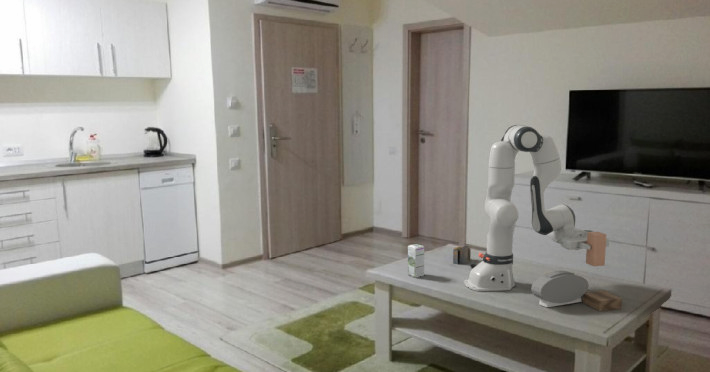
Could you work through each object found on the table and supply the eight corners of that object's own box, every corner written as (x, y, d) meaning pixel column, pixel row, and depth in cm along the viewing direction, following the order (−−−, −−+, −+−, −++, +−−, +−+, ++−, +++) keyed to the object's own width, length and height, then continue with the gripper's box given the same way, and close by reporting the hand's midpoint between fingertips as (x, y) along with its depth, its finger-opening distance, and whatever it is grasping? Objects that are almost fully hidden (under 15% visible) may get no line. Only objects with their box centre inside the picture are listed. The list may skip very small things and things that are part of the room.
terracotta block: (594, 266, 219) (595, 235, 217) (585, 263, 224) (587, 232, 222) (604, 265, 220) (606, 234, 218) (596, 262, 225) (597, 231, 223)
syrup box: (424, 275, 256) (424, 245, 254) (415, 278, 252) (415, 247, 250) (416, 272, 260) (416, 243, 258) (407, 275, 257) (407, 245, 255)
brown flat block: (458, 265, 273) (458, 246, 272) (453, 264, 276) (453, 245, 274) (471, 260, 281) (471, 242, 280) (466, 259, 283) (466, 241, 282)
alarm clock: (578, 297, 225) (577, 266, 224) (589, 300, 219) (588, 269, 218) (531, 304, 217) (530, 273, 217) (541, 308, 212) (540, 276, 211)
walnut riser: (599, 311, 210) (600, 301, 209) (582, 302, 220) (583, 292, 219) (621, 308, 212) (621, 298, 212) (603, 299, 222) (604, 290, 221)
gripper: (554, 233, 230) (576, 241, 217) (595, 230, 235) (618, 237, 222) (554, 248, 231) (575, 256, 218) (595, 244, 236) (617, 252, 223)
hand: (597, 246), depth 220 cm, fingers closed on terracotta block, 5 cm apart
